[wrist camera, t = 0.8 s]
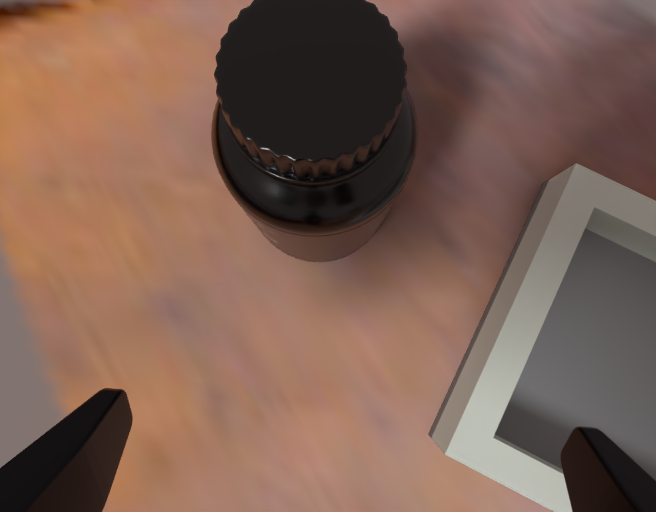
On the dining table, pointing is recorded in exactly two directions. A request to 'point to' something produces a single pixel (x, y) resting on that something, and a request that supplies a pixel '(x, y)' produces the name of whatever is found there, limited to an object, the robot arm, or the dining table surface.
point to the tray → (562, 341)
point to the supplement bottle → (313, 122)
